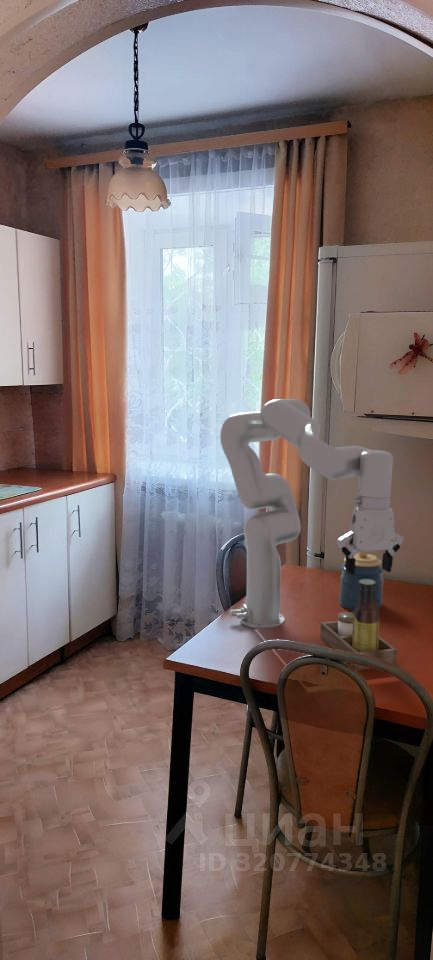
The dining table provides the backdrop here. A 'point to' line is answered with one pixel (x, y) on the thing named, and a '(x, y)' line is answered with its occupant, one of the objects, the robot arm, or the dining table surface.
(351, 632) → the spice jar
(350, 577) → the canister
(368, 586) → the sauce bottle
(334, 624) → the caddy
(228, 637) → the dining table surface
